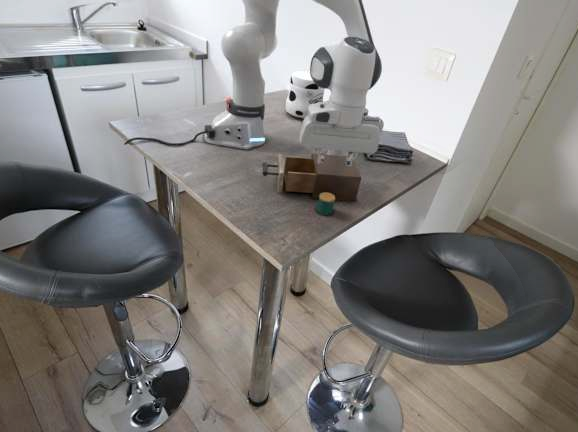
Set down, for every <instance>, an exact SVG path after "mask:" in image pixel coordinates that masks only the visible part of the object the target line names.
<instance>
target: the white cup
mask: <svg viewBox="0 0 578 432" xmlns="http://www.w3.org/2000/svg"><path fill="white" fill-rule="evenodd" d="M349 153H350V152H349V151H338V150H327V149H326V155H336V156H347V157H349Z"/></svg>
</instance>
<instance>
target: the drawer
mask: <svg viewBox="0 0 578 432" xmlns="http://www.w3.org/2000/svg"><path fill="white" fill-rule="evenodd" d="M276 163H277V164H271V163H268V162H265V161H264V162H263V163H262V176H263V177H267V176H268V175H269V176H276V187H277V193H279V194H280V193H283V185H284V187H285V192H294V193H308V194H309V193H310V194H312V193H313V192H314V186H315V181H316V175H317V174H316V170H315V166H314V162H313V158H311V157H307V156H306V157H305V156H295V155H286V156H285V162H284V158H283V153H278V154H277V162H276ZM269 168H276V172H273V171H269V170H268V169H269Z"/></svg>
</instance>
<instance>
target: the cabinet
mask: <svg viewBox="0 0 578 432" xmlns="http://www.w3.org/2000/svg"><path fill="white" fill-rule="evenodd" d="M320 154H321V156H324V158H325V160H324V164H318V155H317V153H311V157H310V158H313V162H314V166H315V170H316V174H317V175H316V181H315V186H314V192H313V193H311V196H312V199H319V195H320V194H321V193H323V192H327V193H331V194H333V195H334V196H335V201H350V202H355V201H356V199H357V196H358V192H359V187H360V185H361V181H362V175H361V173H360V170H359V169H358V166H357V164H356V162H355V160H354V161H352V165H351V166H345V161H346V160H345V159H346V158H349V157H350V156H336V155H327V154H322V153H320Z"/></svg>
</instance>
